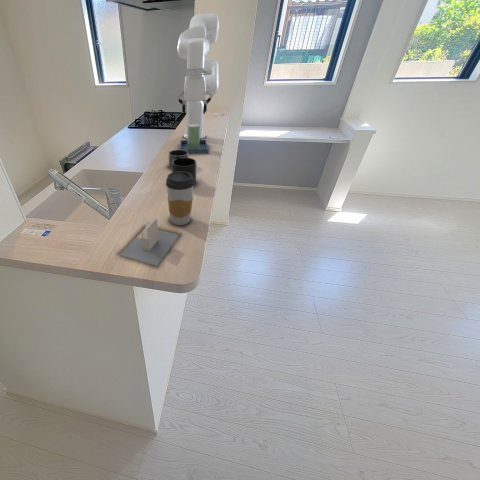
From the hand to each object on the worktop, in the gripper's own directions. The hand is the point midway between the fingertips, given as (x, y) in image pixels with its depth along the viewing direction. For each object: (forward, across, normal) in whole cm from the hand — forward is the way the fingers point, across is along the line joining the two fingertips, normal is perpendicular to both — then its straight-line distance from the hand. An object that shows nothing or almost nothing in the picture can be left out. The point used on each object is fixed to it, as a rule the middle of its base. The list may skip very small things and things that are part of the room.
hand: (194, 113), depth 132 cm
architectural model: (+16, +13, +85) cm, 87 cm away
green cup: (+17, 0, +1) cm, 17 cm away
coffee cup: (+16, +5, +72) cm, 74 cm away
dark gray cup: (+17, +7, +26) cm, 32 cm away
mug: (+16, +4, +43) cm, 46 cm away
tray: (+17, 0, +1) cm, 17 cm away
